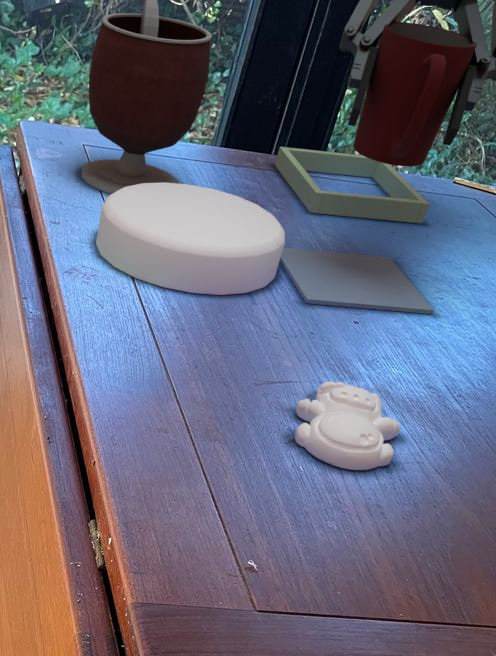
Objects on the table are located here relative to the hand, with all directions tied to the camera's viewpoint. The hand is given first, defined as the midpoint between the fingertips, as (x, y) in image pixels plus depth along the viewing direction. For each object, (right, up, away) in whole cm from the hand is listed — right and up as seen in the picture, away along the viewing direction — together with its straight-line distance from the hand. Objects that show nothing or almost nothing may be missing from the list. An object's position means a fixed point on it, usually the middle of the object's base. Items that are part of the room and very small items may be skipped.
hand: (402, 127), depth 98 cm
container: (-19, -8, +12) cm, 24 cm away
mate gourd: (-24, +8, +29) cm, 39 cm away
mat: (-1, -11, +12) cm, 16 cm away
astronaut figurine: (-10, -33, -13) cm, 37 cm away
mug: (+1, -1, +5) cm, 5 cm away
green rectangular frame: (+6, +9, +35) cm, 37 cm away
